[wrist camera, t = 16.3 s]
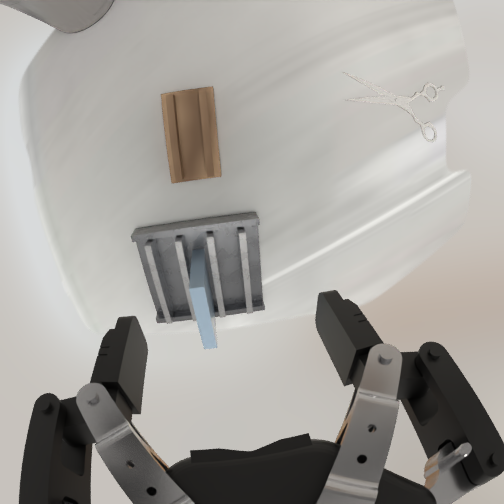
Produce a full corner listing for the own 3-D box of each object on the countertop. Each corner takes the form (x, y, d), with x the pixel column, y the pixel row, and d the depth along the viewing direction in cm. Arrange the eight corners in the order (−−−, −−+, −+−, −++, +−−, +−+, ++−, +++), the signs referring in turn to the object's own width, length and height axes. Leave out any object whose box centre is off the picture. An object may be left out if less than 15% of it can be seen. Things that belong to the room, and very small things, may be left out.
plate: (203, 305, 39) (204, 349, 32) (192, 250, 35) (188, 288, 27) (214, 303, 40) (217, 347, 32) (204, 248, 36) (204, 286, 28)
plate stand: (172, 181, 32) (169, 187, 29) (162, 95, 27) (158, 92, 24) (220, 175, 33) (222, 179, 30) (212, 87, 28) (213, 84, 25)
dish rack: (159, 312, 40) (156, 329, 37) (135, 228, 34) (127, 241, 30) (261, 299, 42) (266, 316, 38) (255, 212, 35) (261, 222, 32)
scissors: (441, 145, 34) (341, 123, 31) (438, 144, 35) (338, 123, 32) (444, 86, 30) (343, 50, 27) (441, 86, 30) (340, 51, 27)
